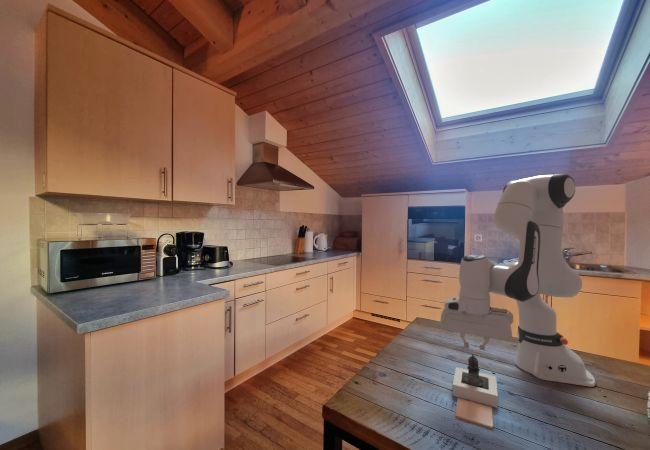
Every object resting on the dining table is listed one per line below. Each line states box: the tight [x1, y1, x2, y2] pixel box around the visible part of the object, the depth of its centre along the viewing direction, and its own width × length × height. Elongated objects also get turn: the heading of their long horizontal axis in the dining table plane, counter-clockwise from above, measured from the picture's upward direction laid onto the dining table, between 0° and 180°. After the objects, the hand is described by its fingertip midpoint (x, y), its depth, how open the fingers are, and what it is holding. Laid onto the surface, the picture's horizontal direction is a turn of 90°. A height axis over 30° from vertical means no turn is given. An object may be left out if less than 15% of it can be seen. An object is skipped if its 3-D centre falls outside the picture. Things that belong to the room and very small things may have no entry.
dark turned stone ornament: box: [464, 354, 484, 389], centre depth 88 cm, size 6×6×12 cm
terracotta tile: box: [454, 397, 494, 430], centre depth 78 cm, size 9×9×1 cm
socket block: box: [452, 366, 499, 409], centre depth 88 cm, size 12×12×4 cm
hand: (474, 348), depth 88 cm, fingers open, 3 cm apart
